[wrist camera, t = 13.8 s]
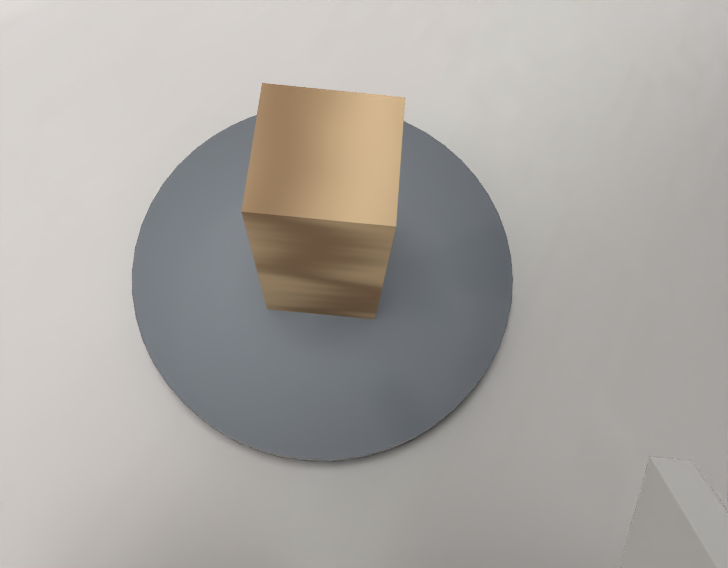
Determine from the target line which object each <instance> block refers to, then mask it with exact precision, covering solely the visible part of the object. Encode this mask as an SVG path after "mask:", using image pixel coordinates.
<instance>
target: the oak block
mask: <svg viewBox="0 0 728 568" xmlns="http://www.w3.org/2000/svg"><path fill="white" fill-rule="evenodd" d="M404 106H405V97H395V96H385V95H375V94H365V93H355V92H346V91H336V90H326V89H316V88H306V87H296V86H286V85H276V84H266V83H262V87H261V94H260V100H259V106H258V112H257V118H256V124H255V131H254V137H253V143H252V149H251V155H250V161H249V168H248V174H247V180H246V186H245V192H244V198H243V204H242V211H241V212H242V216H243V220H244V224H245V227H246V231H247V235H248V239H249V243H250V246H251V250H252V254H253V258H254V262H255V265H256V269H257V273H258V277H259V281H260V284H261V288H262V292H263V296H264V299H265V303H266V307H267V309H269V310H280V311H290V312H301V313H312V314H322V315H333V316H344V317H355V318H365V319H375V317H376V312H377V308H378V304H379V299H380V295H381V290H382V286H383V282H384V277H385V273H386V268H387V264H388V260H389V255H390V251H391V247H392V242H393V238H394V233H395V229H396V220H397V206H398V192H399V178H400V163H401V149H402V135H403V121H404Z"/></svg>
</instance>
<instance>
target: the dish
mask: <svg viewBox="0 0 728 568" xmlns="http://www.w3.org/2000/svg"><path fill="white" fill-rule="evenodd" d="M256 118H257V115H256V116H253V117H250V118H248V119H246V120H243V121H241V122H239V123H236V124H234V125H232V126H230V127H228V128H226V129H225V130H223V131H221V132H220V133H218V134H216V135H214V136H213V137H211V138H210V139H208V140H207V141H206V142H204V143H203V144H202V145H201V146H199V147H198V148H197V149H195V150H194V151H193V152H192V153H191V154H190V155H189V156H188V157H187V158H185V159H184V160H183V161H182V162H181V163H180V164H179V165H178V166H177V167H176V169H175V170H174V171H173V172H172V174H171V175H170V176H169V177H168V179H167V180H166V181H165V182H164V184H163V185H162V187H161V188H160V190H159V191H158V193H157V195H156V196H155V198H154V200H153V201H152V203H151V205H150V207H149V209H148V212H147V214H146V216H145V219H144V221H143V223H142V226H141V229H140V233H139V236H138V240H137V243H136V247H135V253H134V261H133V268H132V295H133V302H134V308H135V315H136V320H137V323H138V326H139V329H140V333H141V336H142V339H143V342H144V344H145V346H146V348H147V350H148V353H149V355H150V357H151V359H152V361H153V363H154V365H155V366H156V368H157V369H158V371H159V372H160V374H161V375H162V377H163V378H164V380H165V381H166V383H167V384H168V385H169V387H170V388H171V389H172V390H173V391H174V392H175V393H176V394H177V396H178V397H179V398H180V399H181V400H182V401H183V402H184V403H185V404H186V405H187V406H188V407H189V408H190V409H191V410H192V411H193V412H195V413H196V414H197V415H198V416H199V417H201V418H202V419H203V420H204V421H205V422H207V423H208V424H209V425H210V426H212V427H213V428H215V429H216V430H218V431H220V432H221V433H223V434H224V435H226V436H228V437H229V438H231V439H233V440H235V441H237V442H239V443H241V444H244V445H246V446H248V447H250V448H253V449H255V450H258V451H261V452H265V453H268V454H272V455H275V456H279V457H283V458H290V459H296V460H303V461H340V460H348V459H356V458H362V457H365V456H369V455H373V454H377V453H381V452H384V451H387V450H389V449H392V448H394V447H396V446H399V445H401V444H404V443H406V442H408V441H410V440H412V439H413V438H415V437H417V436H419V435H420V434H422V433H424V432H425V431H427V430H429V429H430V428H432V427H433V426H434V425H435V424H437V423H438V422H439V421H441V420H442V419H443V418H444V417H446V416H447V415H448V414H449V413H450V412H451V411H453V410H454V409H455V408H456V407H457V406H458V404H459V403H460V402H461V401H462V400H463V399H464V398H465V397H466V396H467V395H468V394H469V393H470V392H471V391H472V390H473V389H474V387H475V386H476V384H477V383H478V382H479V380H480V379H481V378H482V376H483V375H484V373H485V372H486V371H487V369H488V367H489V365H490V363H491V362H492V360H493V358H494V356H495V354H496V352H497V350H498V348H499V346H500V343H501V340H502V337H503V334H504V332H505V329H506V326H507V321H508V316H509V312H510V307H511V300H512V283H513V277H512V264H511V255H510V250H509V246H508V241H507V237H506V233H505V231H504V228H503V225H502V222H501V220H500V217H499V214H498V212H497V210H496V208H495V206H494V204H493V203H492V201H491V199H490V197H489V195H488V193H487V192H486V190H485V189H484V188H483V186H482V185H481V183H480V182H479V180H478V179H477V177H476V176H475V175H474V174H473V173H472V172H471V171H470V169H469V168H468V167H467V166H466V165H465V164H464V163H463V162H462V160H461V159H459V158H458V157H457V156H456V155H455V154H454V153H453V152H451V151H450V150H449V149H448V148H447V147H446V146H445V145H443V144H442V143H440V142H439V141H437V140H436V139H434V138H433V137H431V136H430V135H429V134H427V133H426V132H424V131H422V130H420V129H418V128H416V127H414V126H412V125H410V124H408V123H407V122H404V121H403V135H402V149H401V163H400V178H399V192H398V206H397V220H396V229H395V233H394V238H393V242H392V247H391V251H390V255H389V260H388V264H387V268H386V273H385V277H384V282H383V286H382V290H381V295H380V299H379V304H378V308H377V312H376V317H375V319H365V318H355V317H344V316H333V315H322V314H312V313H301V312H290V311H280V310H269V309H267V307H266V303H265V299H264V296H263V292H262V288H261V284H260V281H259V277H258V273H257V269H256V265H255V262H254V258H253V254H252V250H251V246H250V243H249V239H248V235H247V231H246V227H245V224H244V220H243V216H242V212H241V211H242V204H243V198H244V192H245V186H246V180H247V174H248V168H249V161H250V155H251V149H252V143H253V137H254V131H255V124H256Z"/></svg>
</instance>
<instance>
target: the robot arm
mask: <svg viewBox="0 0 728 568" xmlns="http://www.w3.org/2000/svg"><path fill="white" fill-rule="evenodd" d="M619 568H728V512H727V510H726V509H725V507H724V506H723V504H722V503H721V501H720V500H719V499H718V497H717V496H716V494H715V493H714V491H713V490H712V489H711V487H710V486H709V484H708V483H707V481H706V480H705V478H704V477H703V476H702V474H701V473H700V471H699V470H698V468H697V467H696V465H695V464H694V463H693V461H692V460H685V459H673V458H662V457H649V461H648V465H647V468H646V472H645V476H644V479H643V483H642V487H641V490H640V494H639V498H638V501H637V505H636V509H635V512H634V516H633V520H632V523H631V527H630V531H629V534H628V538H627V542H626V545H625V549H624V553H623V556H622V560H621V564H620V567H619Z"/></svg>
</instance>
